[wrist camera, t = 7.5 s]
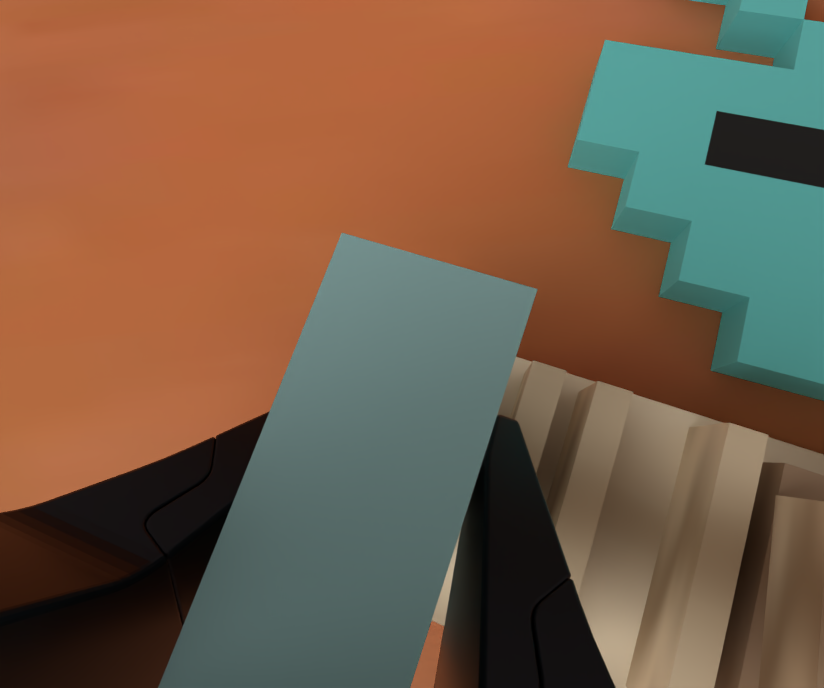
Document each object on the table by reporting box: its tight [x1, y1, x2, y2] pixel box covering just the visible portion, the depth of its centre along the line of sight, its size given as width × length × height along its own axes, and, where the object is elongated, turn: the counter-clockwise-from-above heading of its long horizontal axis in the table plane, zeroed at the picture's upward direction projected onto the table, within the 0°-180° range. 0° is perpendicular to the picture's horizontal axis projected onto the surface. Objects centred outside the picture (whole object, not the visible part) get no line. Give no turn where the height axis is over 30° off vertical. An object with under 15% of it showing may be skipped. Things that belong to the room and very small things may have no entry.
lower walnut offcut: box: [714, 462, 824, 688], centre depth 13 cm, size 7×4×2 cm, turn 160°
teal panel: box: [158, 233, 537, 688], centre depth 10 cm, size 5×2×12 cm, turn 160°
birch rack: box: [432, 357, 824, 688], centre depth 14 cm, size 9×18×4 cm, turn 70°
